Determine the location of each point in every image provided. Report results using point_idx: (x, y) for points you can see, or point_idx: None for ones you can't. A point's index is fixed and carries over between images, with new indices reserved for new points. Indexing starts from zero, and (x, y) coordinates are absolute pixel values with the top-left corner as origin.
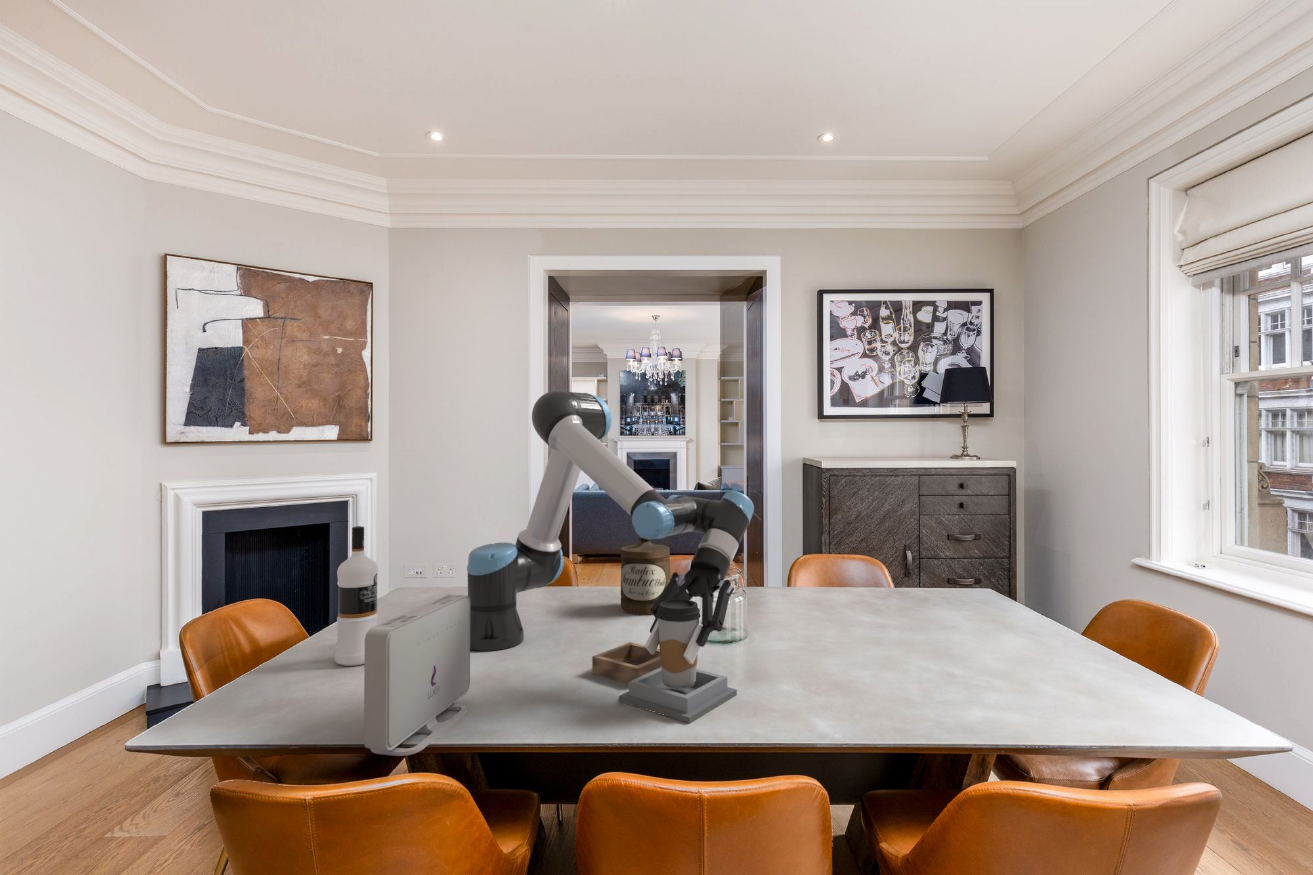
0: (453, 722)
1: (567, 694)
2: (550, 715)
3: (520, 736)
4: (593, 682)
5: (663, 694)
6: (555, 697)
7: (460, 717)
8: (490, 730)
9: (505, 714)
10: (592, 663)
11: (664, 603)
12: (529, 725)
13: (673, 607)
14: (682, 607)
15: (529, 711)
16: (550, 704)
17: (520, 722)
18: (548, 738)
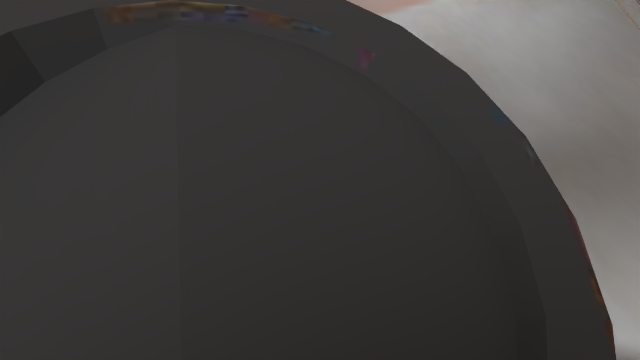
0: (621, 1)
1: (587, 216)
2: (506, 92)
3: (473, 3)
4: (616, 351)
5: None
6: (592, 183)
7: (636, 22)
8: (540, 4)
9: (587, 63)
10: None
11: (508, 271)
12: (500, 41)
13: (213, 92)
14: (76, 252)
15: (563, 92)
16: (561, 141)
17: (527, 45)
18: (421, 11)
